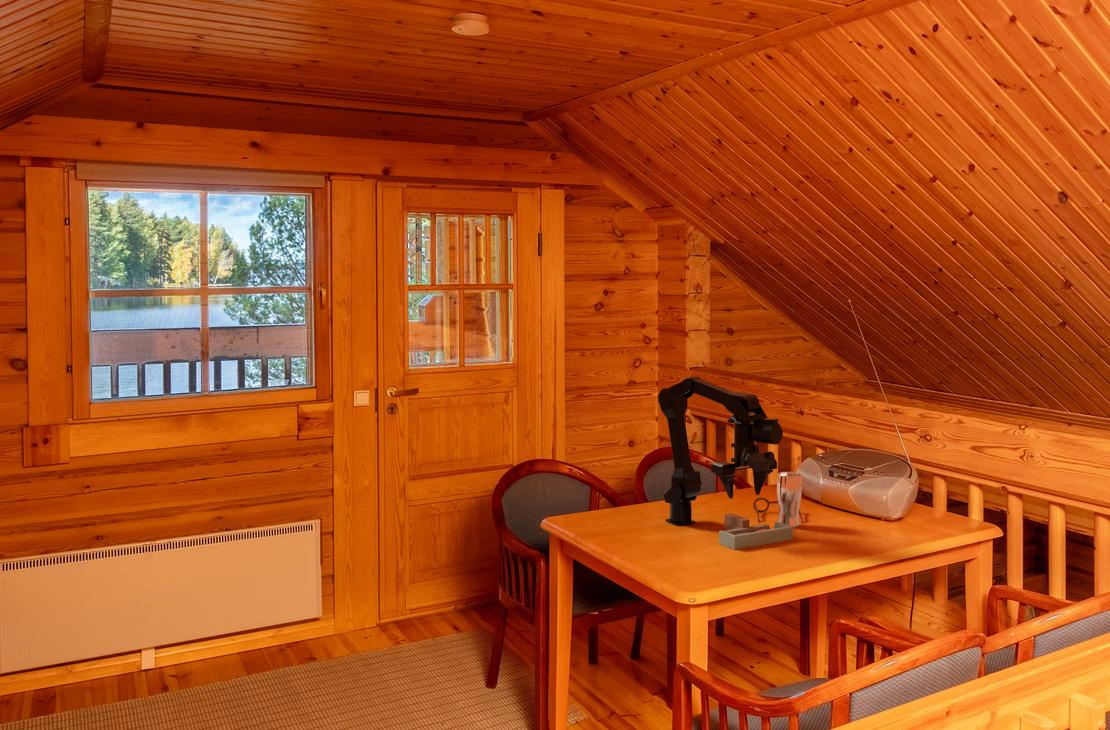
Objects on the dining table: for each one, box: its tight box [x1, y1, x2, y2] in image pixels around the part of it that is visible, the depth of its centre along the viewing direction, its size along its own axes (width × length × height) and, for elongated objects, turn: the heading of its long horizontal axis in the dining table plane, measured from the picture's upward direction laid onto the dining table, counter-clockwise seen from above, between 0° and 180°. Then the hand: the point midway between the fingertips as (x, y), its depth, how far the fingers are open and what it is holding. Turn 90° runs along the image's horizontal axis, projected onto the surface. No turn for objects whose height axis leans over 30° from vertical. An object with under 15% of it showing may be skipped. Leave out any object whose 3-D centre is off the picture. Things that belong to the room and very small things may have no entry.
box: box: [718, 521, 794, 551], centre depth 268 cm, size 6×20×4 cm, turn 118°
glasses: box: [752, 497, 804, 524], centre depth 294 cm, size 13×13×5 cm
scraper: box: [724, 513, 771, 535], centre depth 275 cm, size 9×14×5 cm, turn 118°
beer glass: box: [776, 471, 803, 529], centre depth 284 cm, size 7×7×15 cm
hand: (744, 496), depth 272 cm, fingers open, 9 cm apart
